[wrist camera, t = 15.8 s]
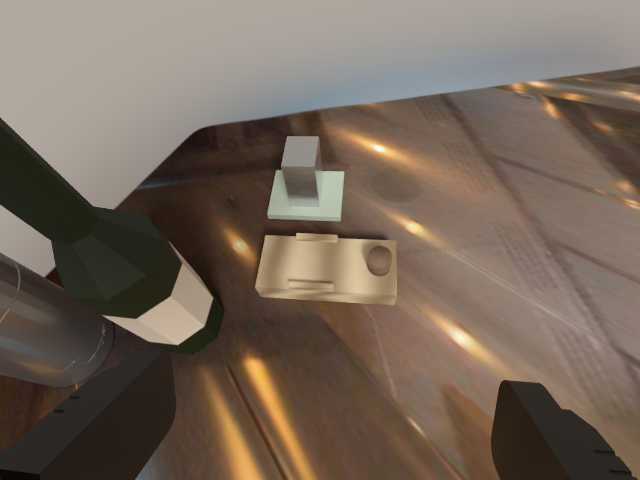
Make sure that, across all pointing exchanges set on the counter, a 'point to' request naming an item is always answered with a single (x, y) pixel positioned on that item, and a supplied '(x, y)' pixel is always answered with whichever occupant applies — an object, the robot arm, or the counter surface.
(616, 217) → the counter surface
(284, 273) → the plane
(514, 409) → the robot arm
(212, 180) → the counter surface
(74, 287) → the wine bottle
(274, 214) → the pad
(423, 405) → the counter surface
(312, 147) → the grey upright block
